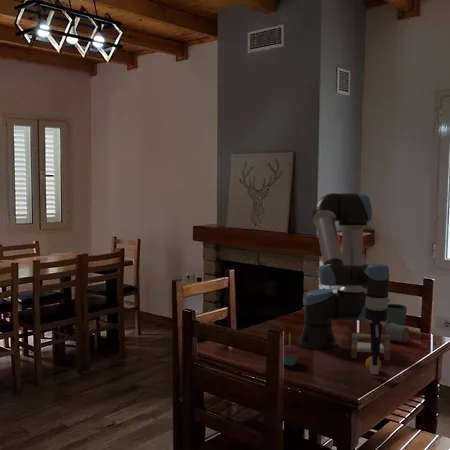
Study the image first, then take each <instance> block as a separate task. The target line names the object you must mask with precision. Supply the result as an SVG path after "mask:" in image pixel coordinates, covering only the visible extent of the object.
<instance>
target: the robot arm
mask: <svg viewBox="0 0 450 450" xmlns="http://www.w3.org/2000/svg"><path fill="white" fill-rule="evenodd" d="M311 214H312V215H311V218H312V222H313V225H315V227H316V231H317V232H316V233H317V236H318V241H319V242H318V243H319V248H320V254H321V260H322V264H323V265H320V267H319V271H318V277H319V283H320V284H321V285H322V286H327V287H329V286H330V287H335V286H338V287H337V291H336V292H333V290H332V289H330V288H318V289H312V290H308V291H307V292H306V293H305V296H304V320H303V321H304V324H303V329H302V331H301V335H300V336H299V345H301V346H302V347H305V348H308V349H315V350H326V349H333V348H334V347H336V341H337V340H336V337H335V334H334V330H333V326H332V325H333V321H343V322H344V321H346V322H347V321H349V322H350V321H351V322H356V321H358V322H359V321H364V320H366V319H367V320H368V321H371V322H369V328H370V332H369V334H371V339H370V343H371V348H370V350H371V352H370V353H369V357H371V364H370V370H369V373H370V374H371V375H379V370H380V369H379V360H380V355H381V353H380V344H381V340H380V338H381V335H382V331H383V325H382V323H381V322H385V320H387V314H388V310H387V309H386V308H387V307H388V304H389V303H390V302H391V300H390V299H389V288H390V287H389V284H390V283H389V282H390V281H389V280H390V268H389V266H388V265H387V264H383V263H365V264H363V247H364V245H363V243H364V242H363V241H364V240H363V239H364V229H365V228H366V227H367V226H368V223H369V222H371V221H372V217H373V208H372V203H371V200H370V197H369V195H367V194H364V193H356V192H355V193H335V192H334V193H328V194H325V195H323V196H322V197H320V198H319V199H318V200H317V202H316V203H315V204H314V207H313V209H312V213H311ZM336 222H338V227H340V228H341V230H342V233H341V236H342V237H341V245H340V240H339V234H338V231H337V230H338V229H337V226H336ZM364 287H366V289H365V288H364Z"/></svg>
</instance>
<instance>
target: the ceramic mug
mask: <svg viewBox="0 0 450 450" xmlns="http://www.w3.org/2000/svg"><path fill="white" fill-rule="evenodd" d="M385 335H390V342H391V341H393V342H397V343H403V344H404V343H406V342H407V341H408V340H409V336H410V329H409V328H408V327H407V326H406V325H405V326H402V325H398V324H394V323H389V325H388V327H387V331H386V330H385Z"/></svg>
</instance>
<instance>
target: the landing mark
mask: <svg viewBox="0 0 450 450" xmlns="http://www.w3.org/2000/svg"><path fill="white" fill-rule="evenodd" d="M370 348H371V342H361V341H357V352H358V353H359V352H362V353H371V350H370ZM380 354H384V343H380Z"/></svg>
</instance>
